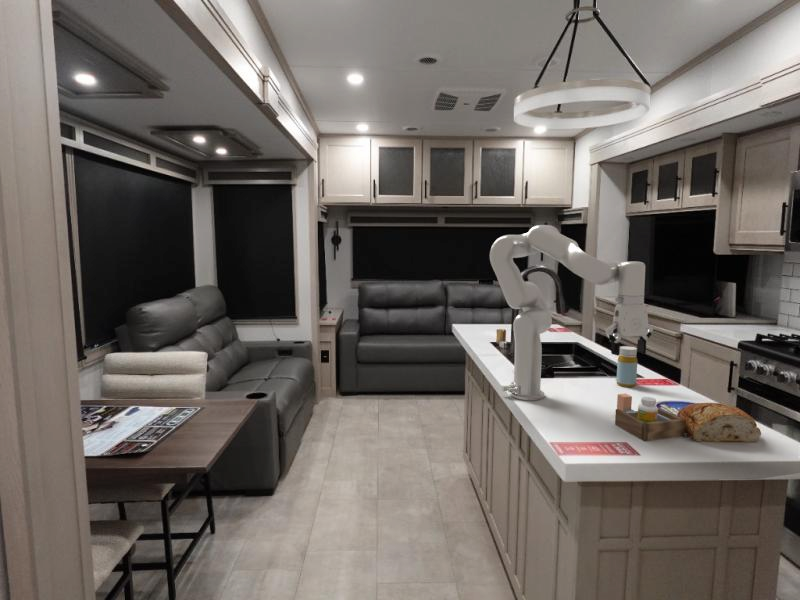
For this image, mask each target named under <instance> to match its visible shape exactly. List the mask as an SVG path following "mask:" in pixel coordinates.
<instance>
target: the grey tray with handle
mask: <svg viewBox="0 0 800 600" xmlns="http://www.w3.org/2000/svg"><path fill="white" fill-rule="evenodd" d="M616 398H617V399H616V400H617V402H616V409H620V410H622V411H624V412H626V413H628V414H630V415H632V416H634V417H636V418H638V410H634V409H633V408H632V402H633V401H632V400H633V396H631V395H629V394H627V393H619V394H617V397H616ZM666 420H671V419H669V418H667V417H664V416H662V415H660V414H658V417H657V421H666Z"/></svg>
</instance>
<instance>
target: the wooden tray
mask: <svg viewBox="0 0 800 600" xmlns="http://www.w3.org/2000/svg"><path fill="white" fill-rule="evenodd" d="M657 408H658V414H660V415H662V416H664V417H667V418H669V419H671V420H666V421H657V422H647V423H645V422H643V421H641V420H639V419H638V418H636V417H634V416H632V415H630V414H628V413H626V412H624V411H622V410H620V409H617V408H616V409H615V412H614V413H615V416H614V417H615V418H614V426H617V427H618V428H620V429H621V430H623V431H625V432H627V433H629V434H630V435H632V436H634V437H636V438H638V439H639V440H641V441H642V442H648V441H649V442H650V441H658V440H665V439H674V438H675V439H676V438H683V437H684V438H685V437H686V434H685V428H686V420H685V419H682V418H680V417H678V416H677V415H676V414H674V413H671V412H669V411H667V410H665V409H662V408H660V407H658V406H657Z"/></svg>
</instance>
